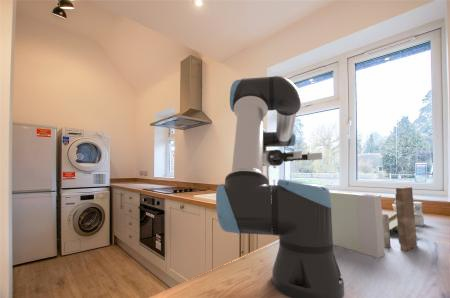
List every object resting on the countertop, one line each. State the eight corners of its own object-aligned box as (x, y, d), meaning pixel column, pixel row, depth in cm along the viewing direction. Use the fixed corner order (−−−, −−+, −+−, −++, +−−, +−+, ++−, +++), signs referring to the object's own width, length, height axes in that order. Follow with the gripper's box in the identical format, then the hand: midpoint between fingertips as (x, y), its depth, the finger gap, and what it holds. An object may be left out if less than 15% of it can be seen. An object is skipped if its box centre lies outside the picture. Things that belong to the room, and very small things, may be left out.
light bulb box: (424, 224, 108) (422, 201, 109) (423, 226, 103) (421, 203, 104) (396, 220, 115) (395, 199, 116) (395, 222, 110) (393, 201, 111)
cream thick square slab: (325, 242, 79) (322, 192, 81) (332, 240, 82) (330, 191, 84) (378, 257, 65) (374, 196, 67) (384, 254, 68) (380, 195, 70)
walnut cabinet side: (382, 246, 75) (378, 187, 77) (394, 240, 81) (390, 186, 83) (405, 252, 70) (400, 188, 72) (417, 245, 76) (412, 187, 78)
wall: (406, 249, 84) (431, 222, 86) (387, 231, 86) (412, 205, 88) (379, 242, 100) (401, 220, 102) (364, 227, 102) (385, 205, 104)
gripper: (289, 166, 112) (329, 165, 95) (253, 165, 98) (291, 164, 81) (289, 151, 113) (328, 148, 96) (253, 148, 99) (291, 144, 82)
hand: (311, 155), depth 88 cm, fingers open, 13 cm apart
